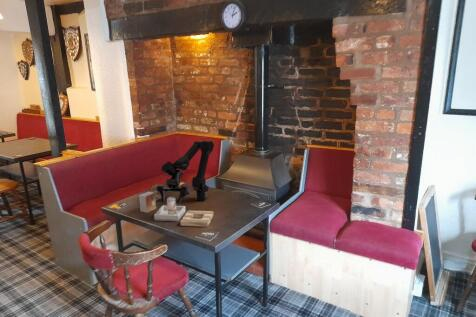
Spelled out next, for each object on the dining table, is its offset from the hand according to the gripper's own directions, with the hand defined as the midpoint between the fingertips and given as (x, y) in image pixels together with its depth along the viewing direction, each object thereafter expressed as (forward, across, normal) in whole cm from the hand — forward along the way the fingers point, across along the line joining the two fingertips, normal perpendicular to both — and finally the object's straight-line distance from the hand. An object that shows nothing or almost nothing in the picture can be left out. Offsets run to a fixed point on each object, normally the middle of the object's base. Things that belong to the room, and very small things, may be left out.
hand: (170, 203), depth 194 cm
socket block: (+8, +16, +5) cm, 18 cm away
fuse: (+5, 0, +6) cm, 8 cm away
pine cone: (-11, -21, +24) cm, 33 cm away
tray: (+4, -2, +8) cm, 9 cm away
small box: (-1, -18, +14) cm, 23 cm away
